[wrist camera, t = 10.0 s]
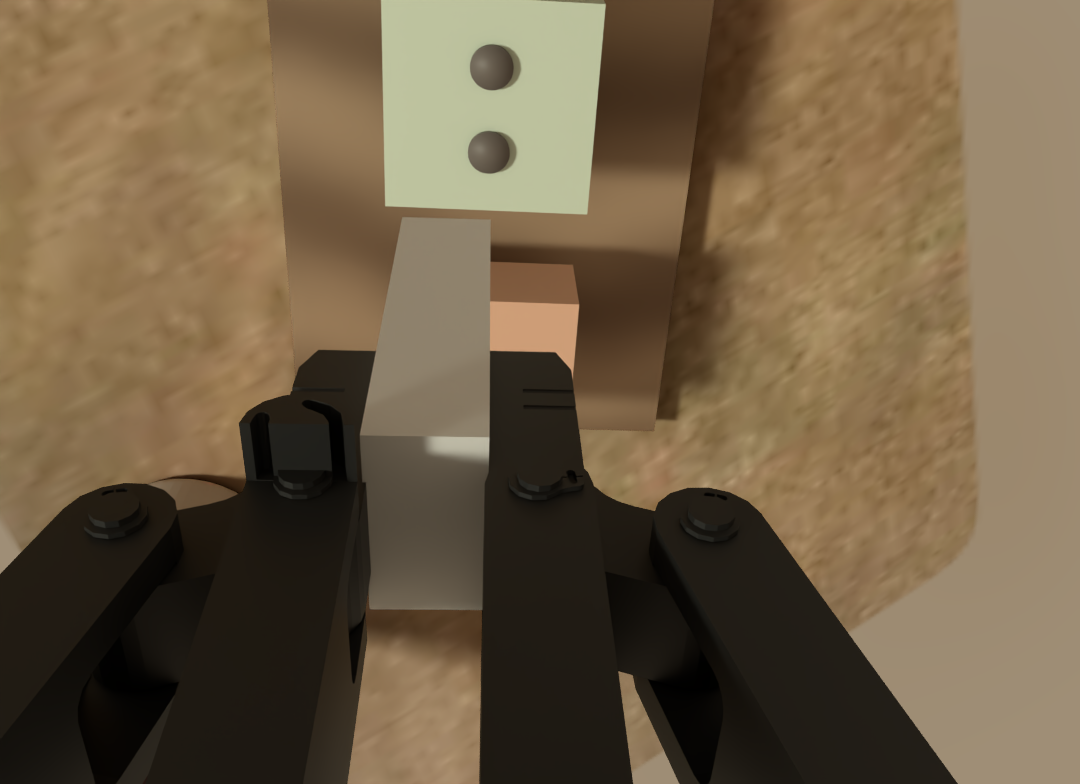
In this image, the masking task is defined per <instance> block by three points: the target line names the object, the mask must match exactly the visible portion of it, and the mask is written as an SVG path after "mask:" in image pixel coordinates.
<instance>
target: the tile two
mask: <svg viewBox="0 0 1080 784" xmlns="http://www.w3.org/2000/svg"><path fill="white" fill-rule="evenodd" d="M605 7H606V4H605V2H604V0H381V21H382V71H383V121H384V172H385V206H393V207H417V208H441V209H466V210H490V211H514V212H538V213H562V214H586V215H587V211H588V200H589V188H590V177H591V166H592V154H593V143H594V132H595V120H596V109H597V98H598V86H599V75H600V64H601V52H602V41H603V30H604V18H605Z"/></svg>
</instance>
